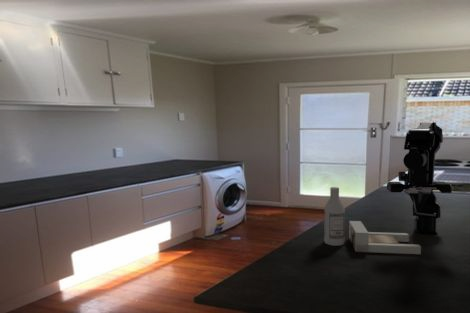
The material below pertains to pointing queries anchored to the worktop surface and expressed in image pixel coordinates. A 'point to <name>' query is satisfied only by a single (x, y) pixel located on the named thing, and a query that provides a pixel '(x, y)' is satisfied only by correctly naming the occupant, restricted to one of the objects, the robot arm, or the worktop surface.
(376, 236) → the tan wooden block
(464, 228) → the worktop surface
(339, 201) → the bath foam
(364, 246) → the canopy channel
